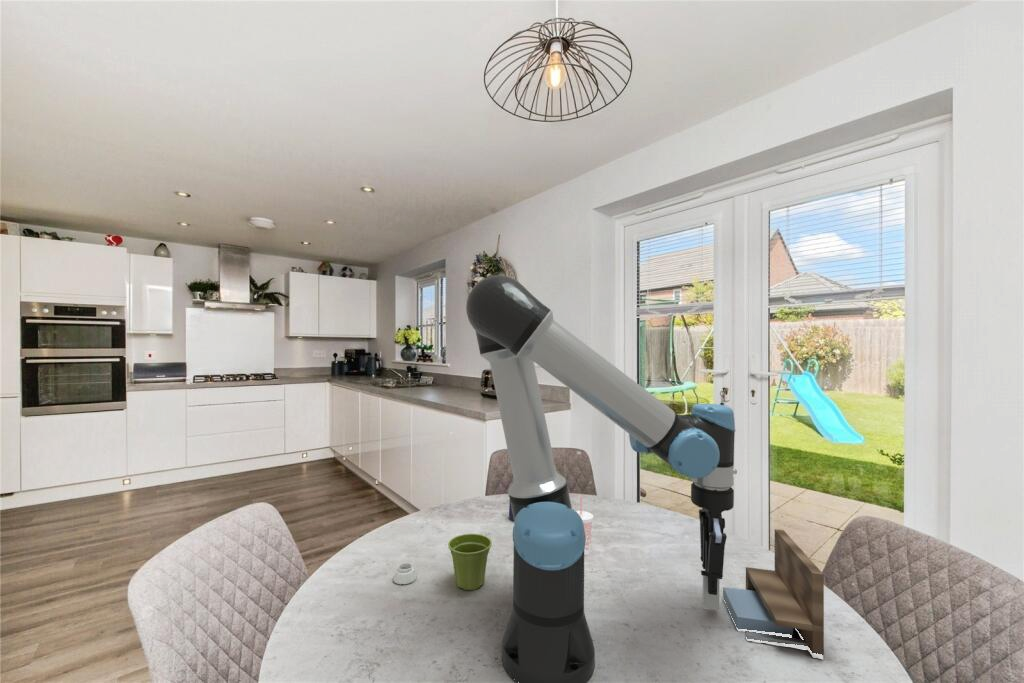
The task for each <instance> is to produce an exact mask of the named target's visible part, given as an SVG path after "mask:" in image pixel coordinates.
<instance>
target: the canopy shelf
mask: <svg viewBox="0 0 1024 683" xmlns="http://www.w3.org/2000/svg"><path fill="white" fill-rule="evenodd" d="M824 576H825V575H824V573H823V572H822V571H821V570H820V568H818V567H817V565H816V564H815V563H814V562H813V561H812V560H811V559H810V558H809V557H808V555H807V554H806V553H805V552H804V551H803V550H802V549H801V548H800V547H799V545H798V544H797V543H796V541H794V540H793V538H791V537H790V536H789V534H787V532H786V531H785V530H784V529H779V528H774V570H772V569H765V568H755V567H747V566H746V567H745V590H752V591H757V593H758V594H759V596H760V598H761V600H762V601H763V603H764V605H765V607H766V609H767V610H768V612H769V614H770V616H771V617H772V619H773V621H774V623H775V624H776V626H782V627H789V628H793V629H794V628H796V629H797V630H798V631H799V633H800V634H801V636H802V637H803V639H804V640H802V639H800V638H794V637H793V638H789V637H782V636H776V635H769V634H762V633H756V632H749V631H745V632H744V635H745V636H746V637H747V639H754V640H760V641H761V640H762V641H768V642H777V643H785V644H795V645H796V644H797V645H804V646H808V647H809V648H810V650H811V651H812V653H816V654H817V653H818V654H822V655H824V656H825V647H824V646H825V644H824V643H825V639H824V638H825V632H824V631H825V621H824V620H825V614H824V613H825V612H824V611H825V608H824V607H825V604H824V603H825V602H824V601H825V597H824V596H825V595H824V594H825V593H824V592H825V591H824V589H825V588H824V587H825V585H824V584H825V580H824V579H825V577H824Z"/></svg>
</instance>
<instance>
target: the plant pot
mask: <svg viewBox="0 0 1024 683" xmlns="http://www.w3.org/2000/svg"><path fill="white" fill-rule="evenodd" d="M492 543H493V541H492V540H491V538H489V537H488V536H487V535H483V534H480V533H465V534H460V535H457V536H454V537H452V538H451V539H450V540H449V541H448V543H447V546H448V549H449V550H450V554H451V556H452V563H453V570H454V571H453V572H454V580H455V585H456V587H457V588H461V589H463V590H464V591H472V590H477V589H479V588H480V587H481V586H482V585H484V584H485V578H486V569H487V564H488V555H489V553H490V549H491V547H492Z"/></svg>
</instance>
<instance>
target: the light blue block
mask: <svg viewBox="0 0 1024 683" xmlns="http://www.w3.org/2000/svg"><path fill="white" fill-rule="evenodd" d="M723 598H724V600H725V602H726V605H727V607H728V609H729V611H730V613H731V616H732V618H733V620H734V622H735V624H736V627H737V628H738V629H747V630H757V631H765V632H775V633H782V634H790V635H793V636H794V628H789V627H782V626H776V624H775V623H774V621H773V619H772V617H771V616H770V614H769V612H768V610H767V609H766V607H765V605H764V603H763V601H762V600H761V598H760V596H759V594H758V593H757V591H752V590H746V589H744V588H743V589H742V588H734V587H728V586H723V587H722V599H723ZM726 605H725V606H726ZM727 607H726V608H727ZM731 616H730V617H731ZM732 618H731V619H732ZM736 627H735V628H736Z"/></svg>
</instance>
